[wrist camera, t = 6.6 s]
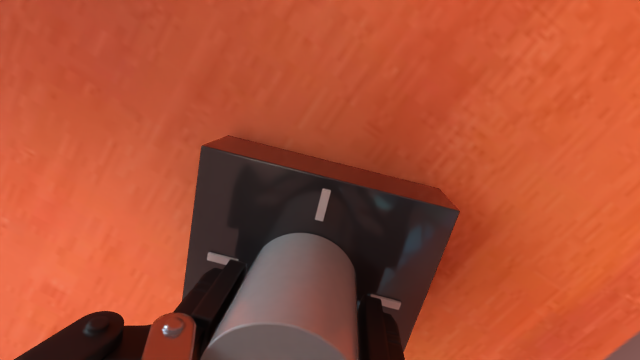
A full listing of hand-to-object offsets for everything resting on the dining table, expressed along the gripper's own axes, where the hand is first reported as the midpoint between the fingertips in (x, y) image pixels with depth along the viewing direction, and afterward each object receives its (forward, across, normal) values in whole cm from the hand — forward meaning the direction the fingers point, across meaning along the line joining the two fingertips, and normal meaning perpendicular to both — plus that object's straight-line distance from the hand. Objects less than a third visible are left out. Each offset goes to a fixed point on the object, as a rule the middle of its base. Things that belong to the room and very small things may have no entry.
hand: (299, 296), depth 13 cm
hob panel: (+4, 0, 0) cm, 4 cm away
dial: (+1, 0, 0) cm, 1 cm away
